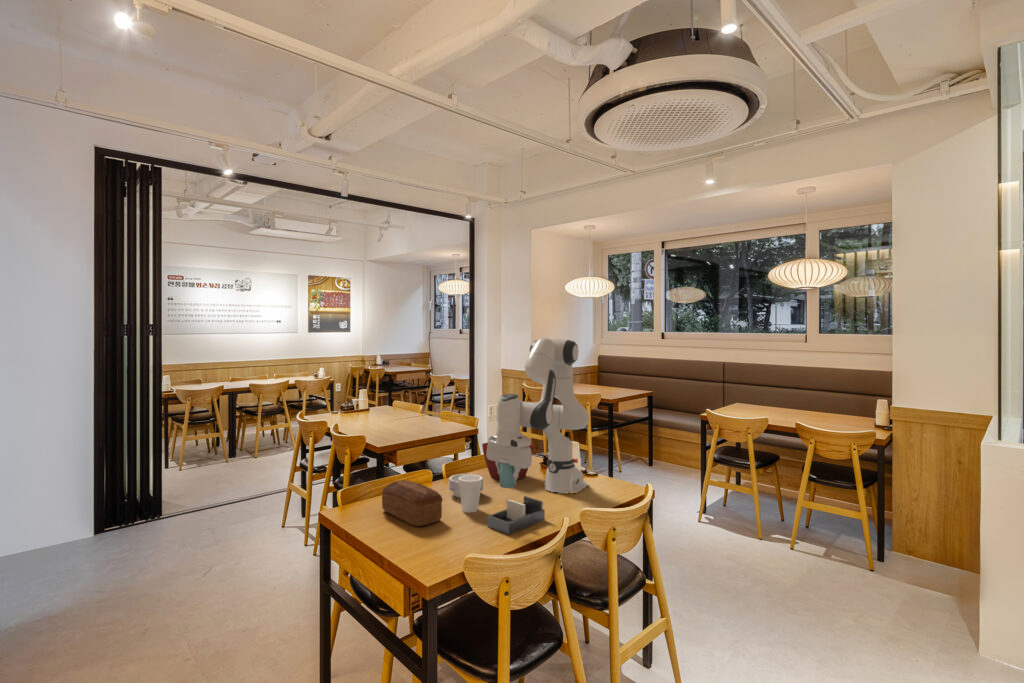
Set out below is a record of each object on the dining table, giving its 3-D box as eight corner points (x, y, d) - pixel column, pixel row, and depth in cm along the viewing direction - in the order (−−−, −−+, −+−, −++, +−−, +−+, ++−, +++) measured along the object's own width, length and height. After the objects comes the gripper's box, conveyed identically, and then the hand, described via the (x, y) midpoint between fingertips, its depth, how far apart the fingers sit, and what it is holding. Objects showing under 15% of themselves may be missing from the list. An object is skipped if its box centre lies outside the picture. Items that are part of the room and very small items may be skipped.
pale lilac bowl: (485, 490, 223) (485, 473, 223) (479, 501, 208) (480, 483, 208) (452, 489, 225) (452, 472, 225) (444, 500, 210) (445, 481, 210)
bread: (416, 531, 176) (416, 498, 176) (376, 511, 196) (377, 480, 196) (447, 521, 186) (447, 489, 186) (406, 503, 206) (407, 474, 206)
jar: (495, 485, 181) (496, 458, 181) (507, 482, 185) (507, 455, 185) (507, 489, 176) (508, 461, 176) (519, 485, 181) (519, 458, 181)
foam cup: (485, 508, 200) (486, 477, 200) (472, 515, 192) (473, 482, 192) (467, 504, 205) (467, 473, 204) (453, 511, 197) (453, 479, 197)
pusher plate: (508, 516, 188) (509, 499, 188) (525, 522, 182) (525, 504, 182) (506, 517, 187) (506, 499, 187) (522, 523, 181) (523, 505, 181)
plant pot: (506, 485, 231) (506, 450, 231) (480, 476, 245) (481, 443, 245) (534, 478, 244) (535, 444, 244) (509, 470, 258) (509, 438, 258)
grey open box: (523, 512, 196) (523, 495, 196) (544, 520, 188) (544, 502, 188) (487, 526, 181) (487, 507, 181) (508, 535, 174) (508, 515, 174)
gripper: (482, 435, 186) (482, 471, 186) (522, 444, 171) (522, 483, 172) (494, 433, 190) (494, 468, 190) (534, 441, 176) (534, 479, 176)
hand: (507, 475), depth 181 cm, fingers closed on jar, 6 cm apart
